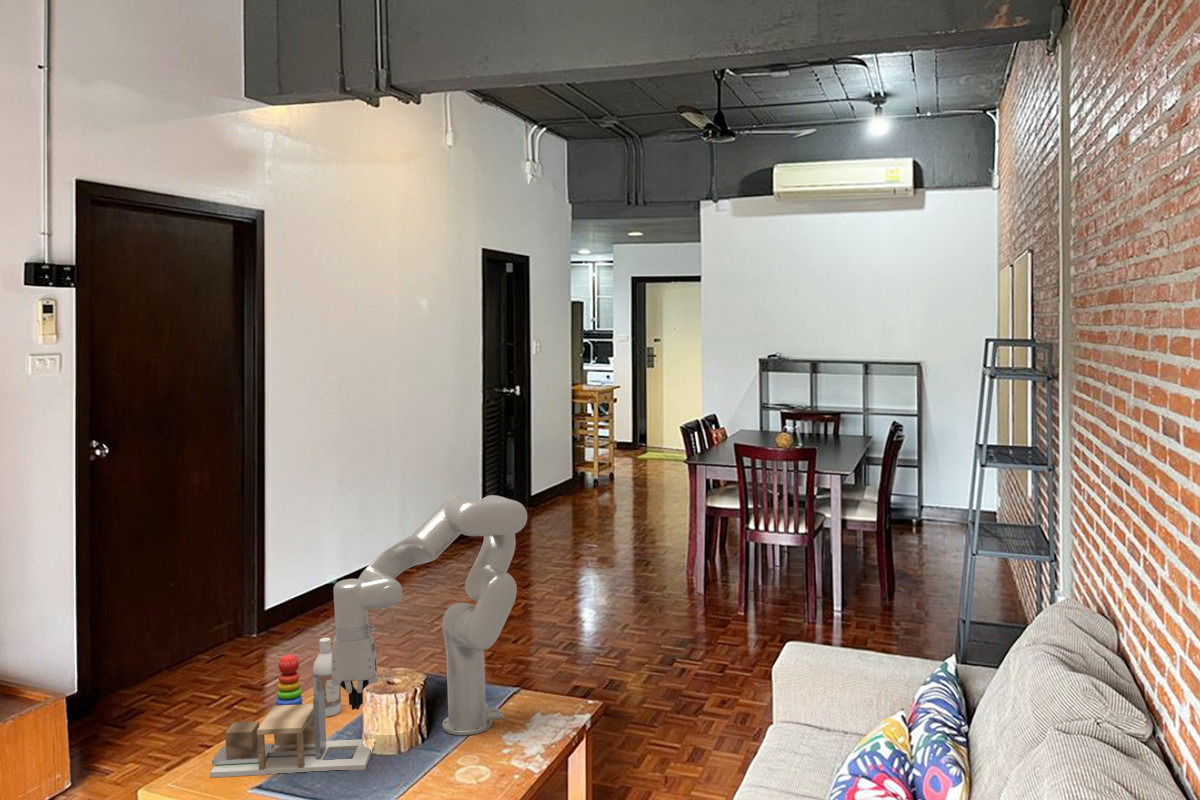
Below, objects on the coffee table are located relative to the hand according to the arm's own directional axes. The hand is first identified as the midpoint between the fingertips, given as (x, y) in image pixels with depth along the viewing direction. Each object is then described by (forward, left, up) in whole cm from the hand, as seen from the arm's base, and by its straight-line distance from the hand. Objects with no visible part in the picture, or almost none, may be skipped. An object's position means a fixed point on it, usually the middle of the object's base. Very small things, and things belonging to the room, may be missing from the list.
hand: (356, 707), depth 224 cm
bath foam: (+13, -28, -12) cm, 33 cm away
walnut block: (+27, 0, -10) cm, 28 cm away
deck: (+15, 0, -12) cm, 19 cm away
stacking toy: (+21, -20, -12) cm, 31 cm away
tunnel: (+16, 0, -11) cm, 19 cm away
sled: (+20, 0, -10) cm, 23 cm away
